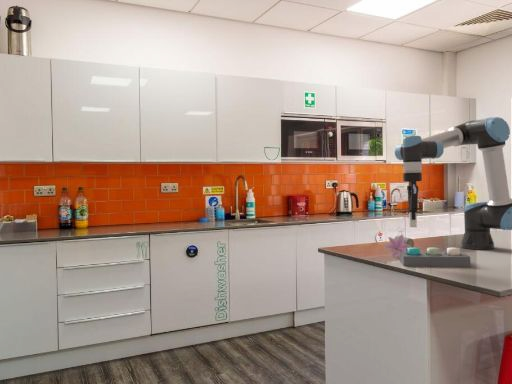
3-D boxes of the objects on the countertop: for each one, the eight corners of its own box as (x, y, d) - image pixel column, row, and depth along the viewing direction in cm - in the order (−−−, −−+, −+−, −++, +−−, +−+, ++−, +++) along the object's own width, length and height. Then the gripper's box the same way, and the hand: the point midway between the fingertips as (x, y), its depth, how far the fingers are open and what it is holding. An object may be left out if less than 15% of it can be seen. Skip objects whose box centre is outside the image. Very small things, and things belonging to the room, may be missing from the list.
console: (462, 261, 189) (462, 252, 189) (470, 266, 178) (470, 256, 178) (399, 260, 194) (399, 251, 194) (403, 265, 183) (403, 256, 182)
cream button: (458, 256, 186) (458, 247, 186) (461, 259, 181) (461, 249, 181) (445, 256, 187) (445, 247, 187) (448, 258, 182) (448, 249, 182)
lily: (379, 259, 205) (383, 243, 200) (385, 246, 214) (389, 230, 209) (405, 268, 200) (410, 252, 195) (409, 254, 209) (415, 238, 204)
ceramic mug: (407, 253, 212) (407, 237, 212) (392, 251, 218) (392, 236, 218) (418, 251, 219) (418, 235, 219) (402, 249, 225) (402, 234, 225)
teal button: (418, 256, 189) (418, 247, 189) (420, 258, 185) (420, 249, 184) (406, 256, 190) (406, 247, 190) (408, 258, 185) (408, 249, 185)
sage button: (438, 256, 188) (438, 247, 188) (441, 258, 183) (440, 249, 183) (426, 256, 189) (426, 247, 189) (428, 258, 184) (428, 249, 184)
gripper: (401, 172, 194) (401, 225, 194) (405, 172, 181) (406, 228, 181) (418, 172, 192) (419, 225, 193) (424, 171, 179) (425, 228, 180)
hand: (413, 227), depth 187 cm, fingers closed
